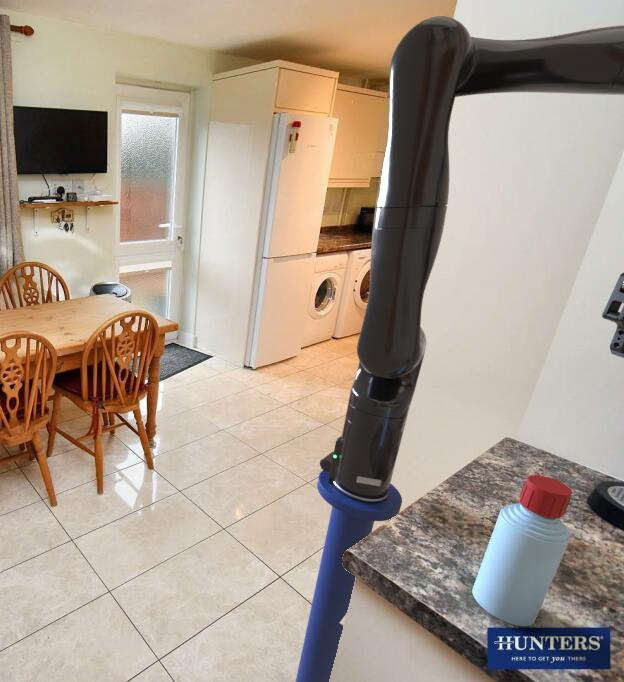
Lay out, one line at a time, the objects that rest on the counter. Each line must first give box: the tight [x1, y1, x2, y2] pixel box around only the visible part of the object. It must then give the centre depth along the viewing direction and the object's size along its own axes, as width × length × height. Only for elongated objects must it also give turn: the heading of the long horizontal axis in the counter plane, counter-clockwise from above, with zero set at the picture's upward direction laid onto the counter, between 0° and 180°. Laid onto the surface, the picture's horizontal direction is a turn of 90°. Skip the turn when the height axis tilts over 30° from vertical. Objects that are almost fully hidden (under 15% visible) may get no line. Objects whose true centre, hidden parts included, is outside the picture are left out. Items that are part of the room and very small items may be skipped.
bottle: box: [471, 502, 571, 627], centre depth 56 cm, size 6×6×18 cm
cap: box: [518, 474, 573, 519], centre depth 53 cm, size 4×4×3 cm
